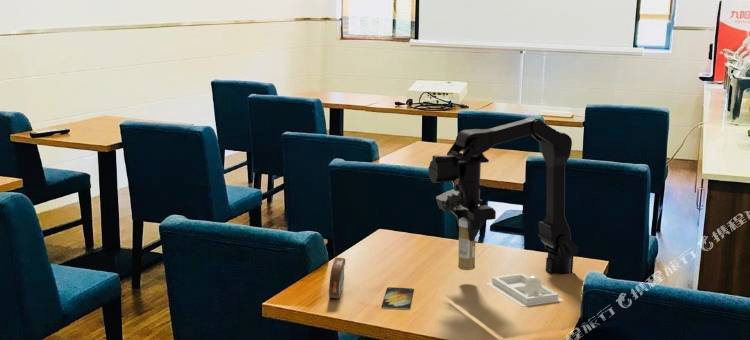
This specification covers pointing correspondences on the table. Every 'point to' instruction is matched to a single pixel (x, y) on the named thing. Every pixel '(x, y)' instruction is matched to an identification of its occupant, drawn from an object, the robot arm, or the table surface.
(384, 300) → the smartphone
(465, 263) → the sprinkles bottle
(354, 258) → the table surface
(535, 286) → the egg
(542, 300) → the tray
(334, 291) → the tin
